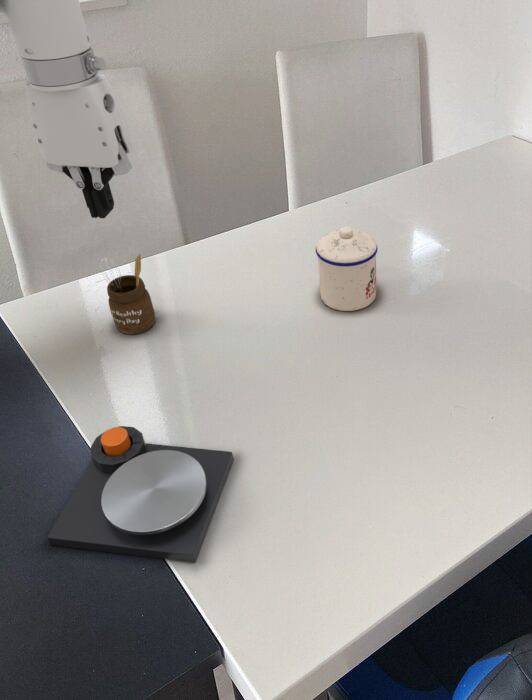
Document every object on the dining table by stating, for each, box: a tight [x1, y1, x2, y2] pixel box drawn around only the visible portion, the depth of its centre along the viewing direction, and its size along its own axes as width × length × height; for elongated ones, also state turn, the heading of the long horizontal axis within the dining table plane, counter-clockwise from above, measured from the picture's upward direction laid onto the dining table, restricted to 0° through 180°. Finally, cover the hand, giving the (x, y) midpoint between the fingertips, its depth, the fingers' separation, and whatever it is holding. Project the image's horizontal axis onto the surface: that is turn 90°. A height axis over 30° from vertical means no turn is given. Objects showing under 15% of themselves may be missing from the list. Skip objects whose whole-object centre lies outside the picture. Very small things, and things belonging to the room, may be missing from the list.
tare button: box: [101, 426, 131, 456], centre depth 78 cm, size 3×3×2 cm
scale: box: [46, 425, 235, 563], centre depth 75 cm, size 16×15×3 cm
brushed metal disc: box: [101, 450, 207, 535], centre depth 73 cm, size 11×11×1 cm
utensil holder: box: [99, 253, 156, 335], centre depth 98 cm, size 6×6×12 cm
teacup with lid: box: [315, 226, 378, 312], centre depth 103 cm, size 12×9×12 cm
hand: (103, 212), depth 88 cm, fingers closed
